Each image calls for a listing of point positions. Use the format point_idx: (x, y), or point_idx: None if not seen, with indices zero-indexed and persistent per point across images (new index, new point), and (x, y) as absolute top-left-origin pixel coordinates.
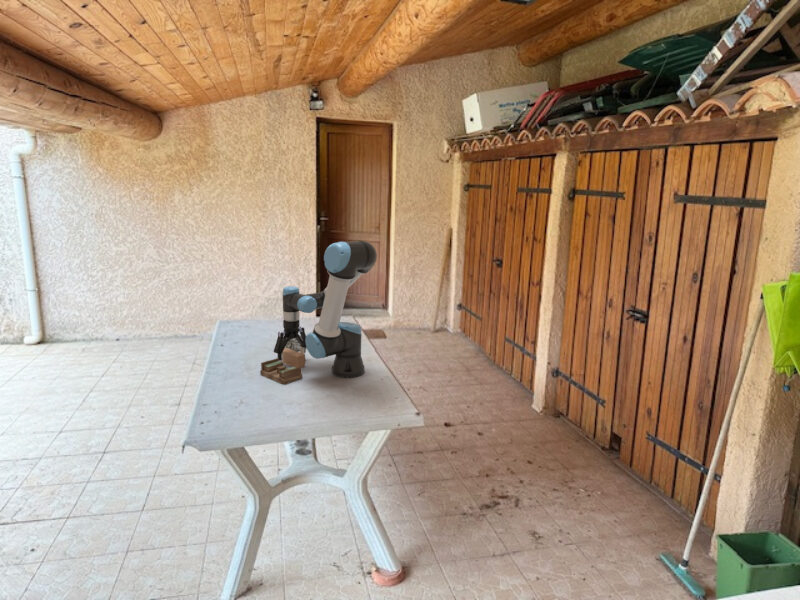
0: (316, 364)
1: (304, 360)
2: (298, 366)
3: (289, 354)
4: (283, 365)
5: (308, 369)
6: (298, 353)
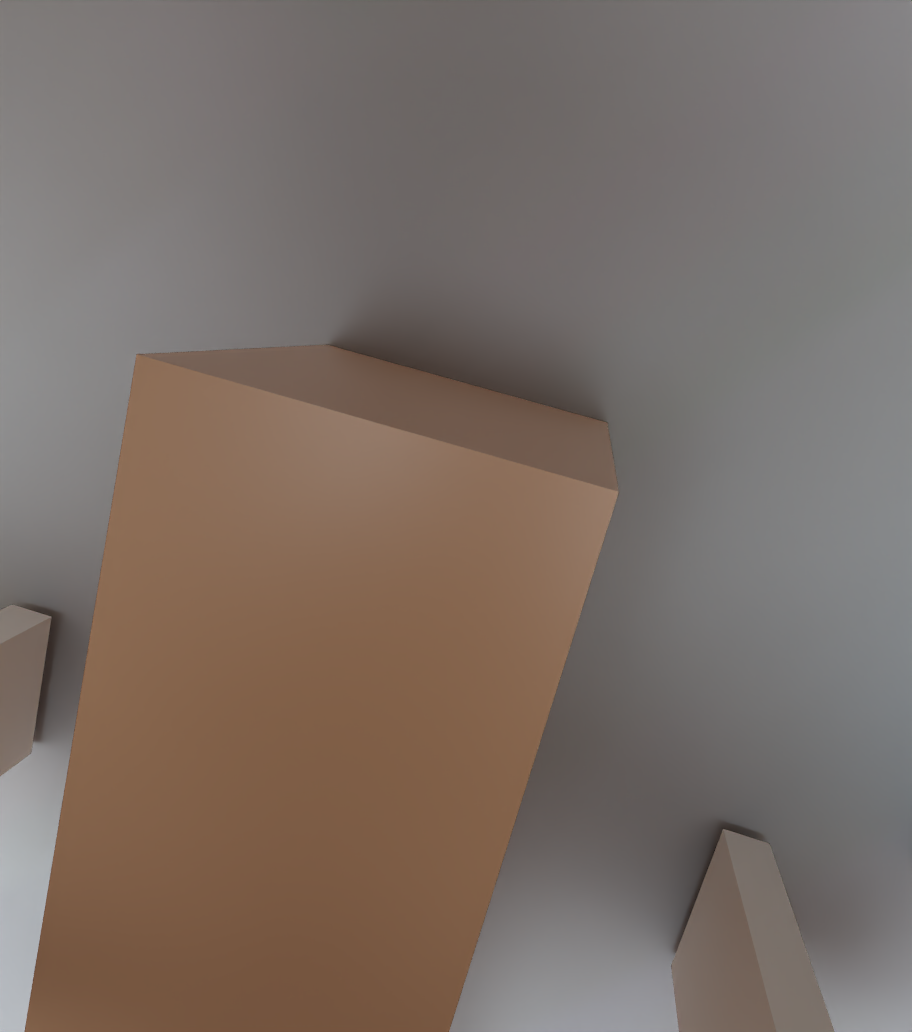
0: (36, 130)
1: (286, 356)
2: (571, 420)
3: (451, 1010)
4: (737, 856)
5: (518, 60)
6: (199, 716)
